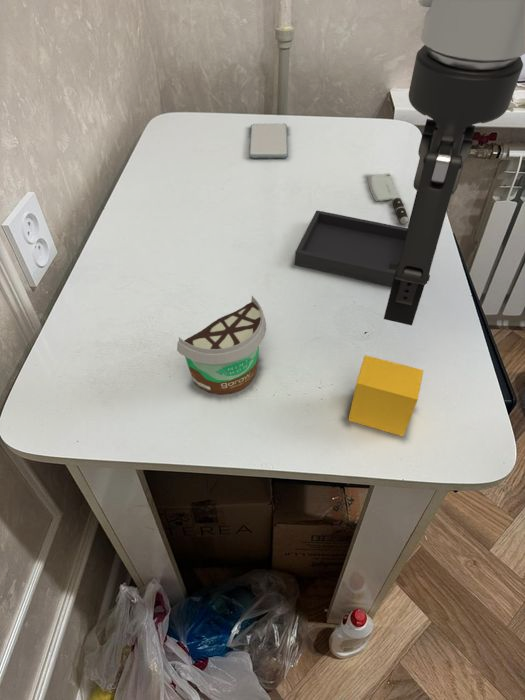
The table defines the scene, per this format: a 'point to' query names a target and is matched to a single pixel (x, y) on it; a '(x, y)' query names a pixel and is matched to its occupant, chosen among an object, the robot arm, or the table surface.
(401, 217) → the cleaver
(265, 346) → the table surface
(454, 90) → the robot arm
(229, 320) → the food container
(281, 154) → the rounded grey tile
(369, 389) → the yellow block
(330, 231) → the black shallow rectangular tray
